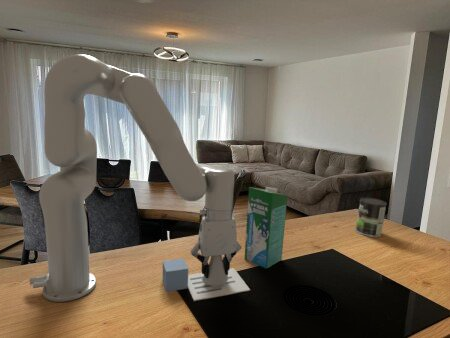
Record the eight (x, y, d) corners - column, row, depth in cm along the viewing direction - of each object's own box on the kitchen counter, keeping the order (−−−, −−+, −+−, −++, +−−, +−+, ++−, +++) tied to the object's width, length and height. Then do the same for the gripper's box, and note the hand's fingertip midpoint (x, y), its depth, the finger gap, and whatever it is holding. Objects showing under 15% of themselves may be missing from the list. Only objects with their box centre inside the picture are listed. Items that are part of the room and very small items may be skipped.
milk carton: (281, 259, 101) (288, 188, 96) (266, 269, 94) (272, 192, 89) (260, 250, 107) (265, 182, 102) (244, 258, 100) (248, 186, 95)
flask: (232, 278, 86) (234, 246, 84) (218, 290, 80) (220, 256, 78) (212, 270, 90) (213, 239, 88) (197, 281, 84) (198, 248, 82)
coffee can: (364, 237, 123) (368, 204, 120) (351, 227, 133) (355, 197, 130) (387, 237, 124) (392, 205, 122) (372, 227, 134) (377, 197, 132)
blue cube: (165, 292, 80) (166, 271, 79) (162, 280, 86) (162, 260, 85) (187, 288, 82) (188, 268, 81) (183, 277, 88) (183, 258, 87)
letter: (193, 301, 77) (193, 299, 77) (183, 276, 88) (183, 275, 88) (250, 290, 82) (250, 289, 82) (233, 268, 93) (233, 267, 93)
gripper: (191, 220, 75) (189, 286, 78) (252, 215, 81) (248, 276, 84) (184, 210, 81) (182, 271, 85) (241, 206, 88) (237, 263, 91)
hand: (215, 273), depth 85 cm, fingers closed on flask, 5 cm apart
